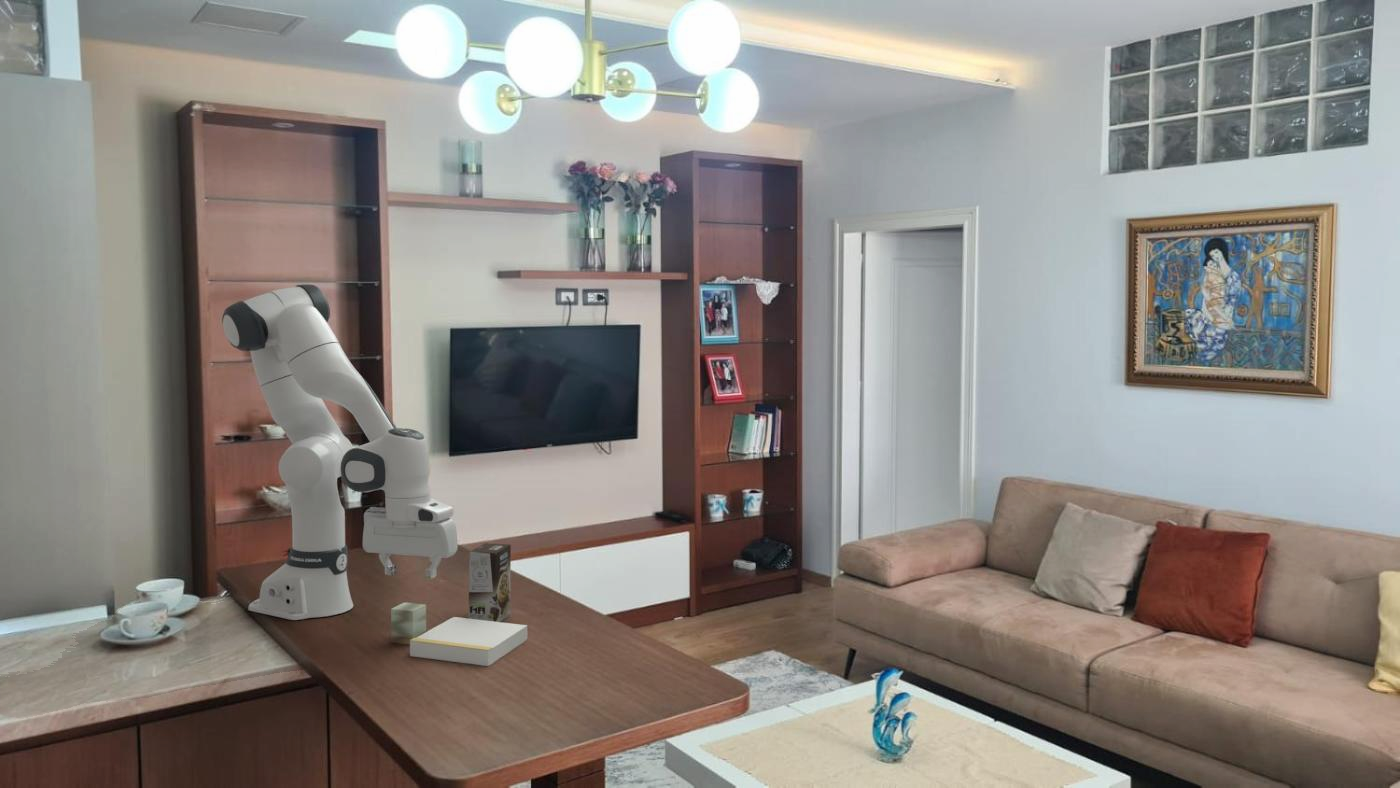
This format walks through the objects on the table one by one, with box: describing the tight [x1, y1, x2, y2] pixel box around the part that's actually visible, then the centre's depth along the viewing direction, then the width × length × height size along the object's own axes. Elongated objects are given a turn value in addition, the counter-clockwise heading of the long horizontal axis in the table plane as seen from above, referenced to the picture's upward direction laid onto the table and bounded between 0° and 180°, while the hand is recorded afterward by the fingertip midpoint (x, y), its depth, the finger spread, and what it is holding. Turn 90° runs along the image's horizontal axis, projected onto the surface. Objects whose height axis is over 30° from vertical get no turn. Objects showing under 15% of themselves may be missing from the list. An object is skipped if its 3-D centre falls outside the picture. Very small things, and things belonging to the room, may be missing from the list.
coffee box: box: [468, 542, 512, 622], centre depth 234 cm, size 9×6×16 cm
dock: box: [409, 616, 528, 667], centre depth 216 cm, size 17×17×3 cm
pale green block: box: [390, 601, 427, 646], centre depth 219 cm, size 5×5×7 cm
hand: (410, 575), depth 218 cm, fingers open, 8 cm apart
